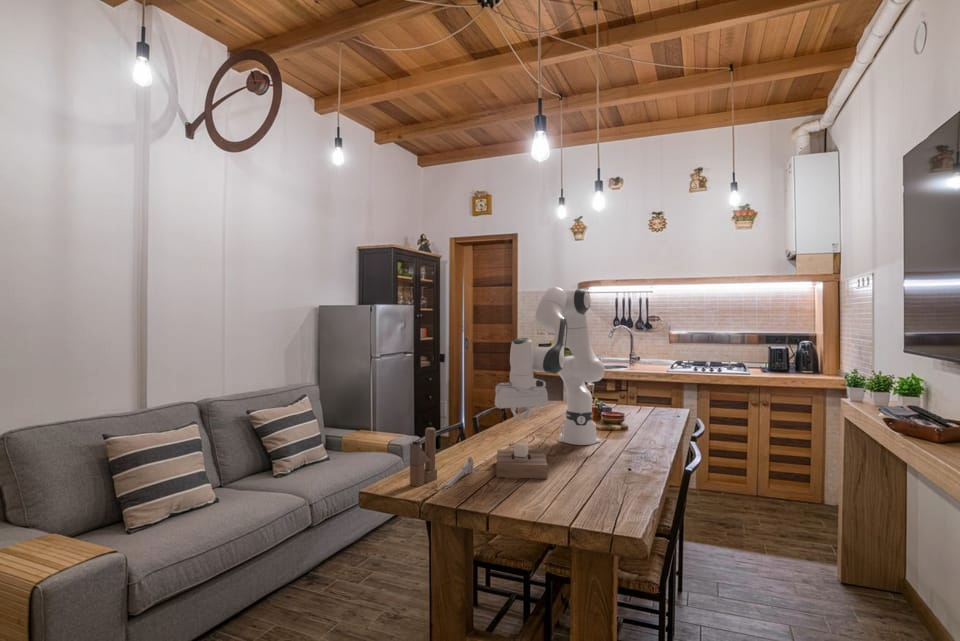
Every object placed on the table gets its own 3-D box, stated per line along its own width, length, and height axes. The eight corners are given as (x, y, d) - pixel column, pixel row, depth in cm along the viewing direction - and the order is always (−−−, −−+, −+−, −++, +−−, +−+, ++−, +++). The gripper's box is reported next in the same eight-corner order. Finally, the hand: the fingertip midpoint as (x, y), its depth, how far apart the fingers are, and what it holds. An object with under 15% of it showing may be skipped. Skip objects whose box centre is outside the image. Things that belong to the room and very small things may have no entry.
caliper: (470, 472, 188) (470, 455, 188) (473, 473, 187) (473, 456, 187) (444, 489, 169) (444, 471, 169) (446, 490, 169) (447, 471, 169)
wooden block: (409, 485, 173) (409, 432, 173) (429, 477, 182) (429, 426, 182) (418, 487, 171) (418, 433, 171) (437, 478, 180) (437, 427, 180)
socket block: (497, 461, 201) (497, 449, 201) (543, 462, 200) (543, 450, 200) (496, 478, 181) (496, 463, 181) (547, 479, 180) (547, 464, 180)
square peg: (518, 467, 193) (518, 441, 193) (528, 469, 192) (528, 442, 191) (514, 470, 190) (514, 444, 189) (524, 472, 188) (524, 445, 188)
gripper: (498, 384, 184) (498, 422, 184) (549, 382, 190) (549, 419, 191) (492, 381, 190) (492, 418, 190) (542, 380, 196) (542, 415, 197)
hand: (521, 419), depth 190 cm, fingers open, 3 cm apart
